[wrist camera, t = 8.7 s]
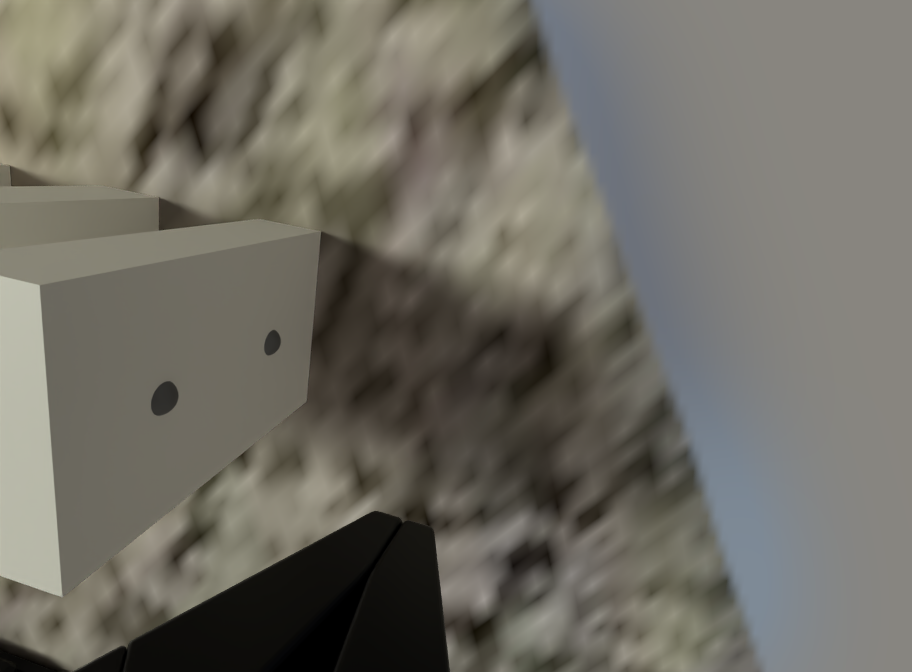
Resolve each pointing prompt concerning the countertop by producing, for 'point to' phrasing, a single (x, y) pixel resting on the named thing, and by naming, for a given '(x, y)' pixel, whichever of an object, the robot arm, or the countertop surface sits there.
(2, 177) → the domino
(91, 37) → the countertop surface
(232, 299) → the domino
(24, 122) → the countertop surface
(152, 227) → the domino
